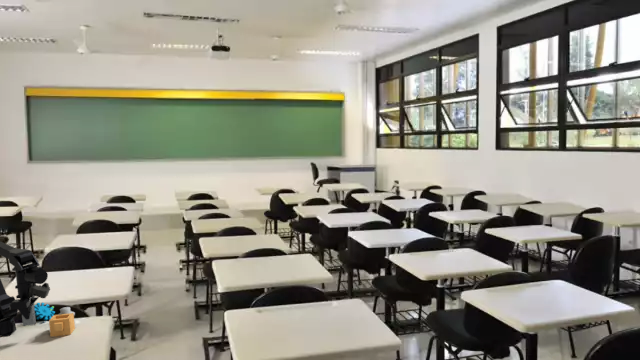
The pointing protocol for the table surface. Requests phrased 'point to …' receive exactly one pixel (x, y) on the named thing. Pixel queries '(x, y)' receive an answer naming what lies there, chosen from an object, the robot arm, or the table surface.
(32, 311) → the wedge
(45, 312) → the gear
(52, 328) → the tan open box
